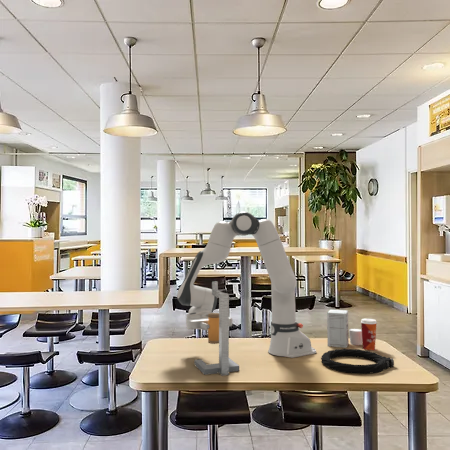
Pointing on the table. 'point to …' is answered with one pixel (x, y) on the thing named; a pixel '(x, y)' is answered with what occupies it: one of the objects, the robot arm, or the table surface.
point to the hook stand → (223, 329)
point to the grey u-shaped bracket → (214, 367)
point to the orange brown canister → (213, 328)
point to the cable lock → (359, 369)
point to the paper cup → (368, 333)
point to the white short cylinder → (355, 336)
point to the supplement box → (337, 328)
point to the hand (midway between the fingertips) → (214, 326)
